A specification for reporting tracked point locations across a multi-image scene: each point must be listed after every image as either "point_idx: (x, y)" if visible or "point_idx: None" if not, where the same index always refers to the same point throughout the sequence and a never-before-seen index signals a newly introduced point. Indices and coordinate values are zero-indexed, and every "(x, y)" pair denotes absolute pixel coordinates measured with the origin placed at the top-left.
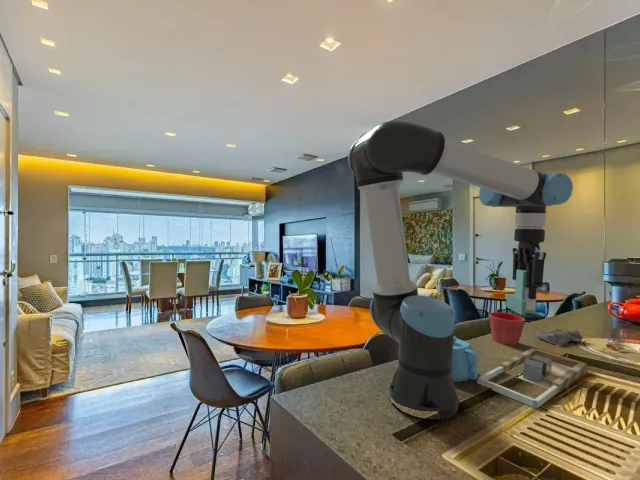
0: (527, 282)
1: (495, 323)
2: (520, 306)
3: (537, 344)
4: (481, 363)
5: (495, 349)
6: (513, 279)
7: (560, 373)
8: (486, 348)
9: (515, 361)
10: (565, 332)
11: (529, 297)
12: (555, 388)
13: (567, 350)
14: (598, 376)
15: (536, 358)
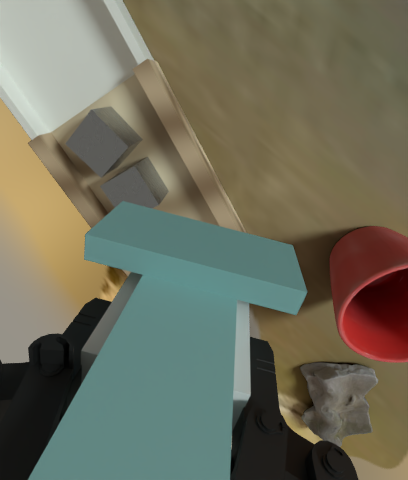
0: (54, 395)
1: (401, 251)
2: (119, 222)
3: (329, 332)
4: (239, 54)
5: (332, 192)
6: (327, 445)
7: None
8: (348, 167)
9: (171, 138)
10: (327, 417)
11: (100, 305)
12: (21, 125)
13: (277, 361)
14: None
15: (131, 183)
